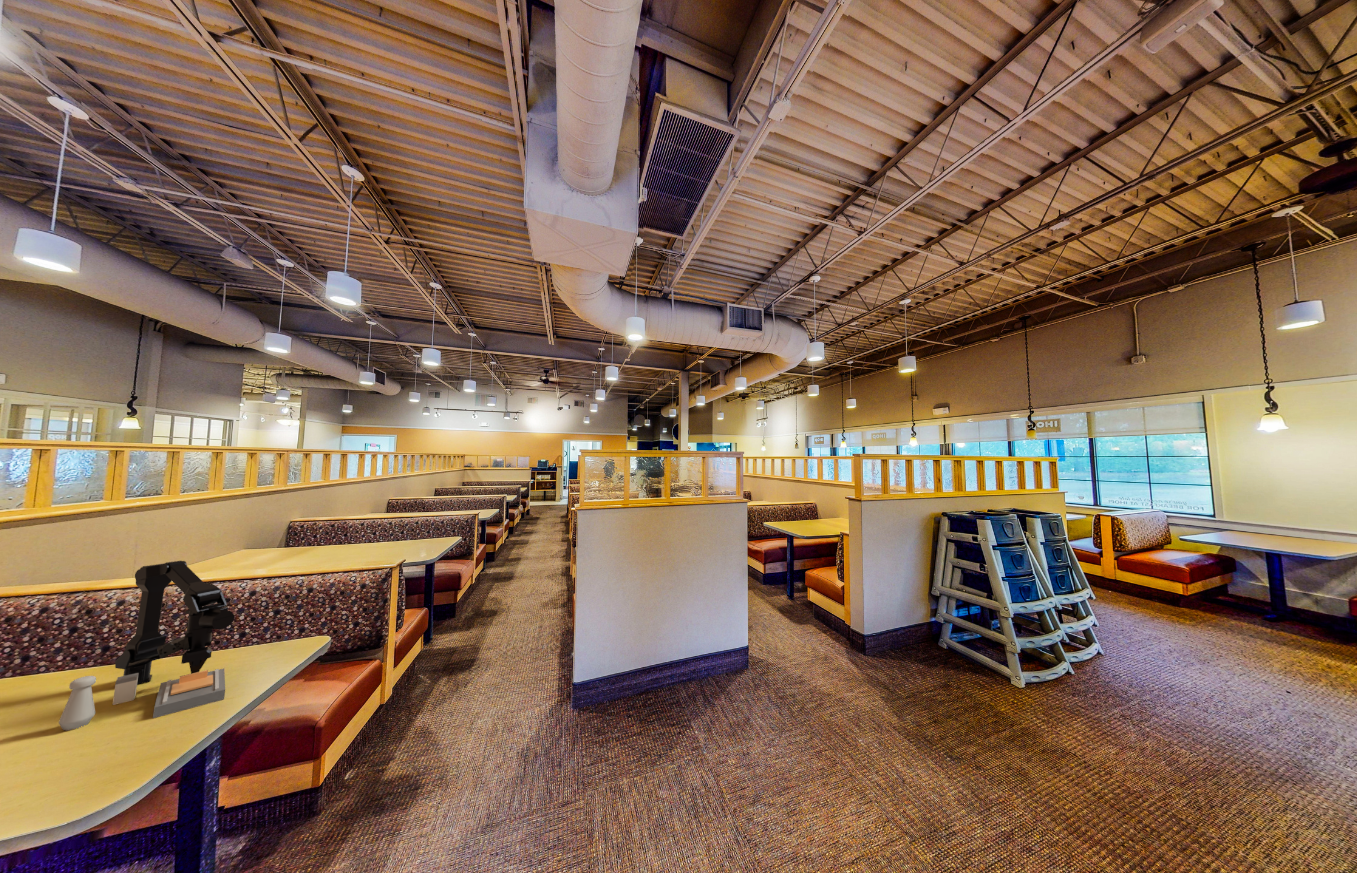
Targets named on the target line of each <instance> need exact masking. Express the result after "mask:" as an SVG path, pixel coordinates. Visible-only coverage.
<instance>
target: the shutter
mask: <svg viewBox="0 0 1357 873" xmlns="http://www.w3.org/2000/svg"><path fill="white" fill-rule="evenodd" d="M208 672H209V669H206V670H202V671H201V670H200V671H199V672H196V673H192V674H191V673H188V674H184V675H180V676H179V678H178V679H179V683H175V684H173V685H172V690H171V695H174V694H178V693H182V692H186V691H190V690H194V689H198V688H202V687H206V686H210V685H213V675H209V676H207V674H208Z"/></svg>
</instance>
